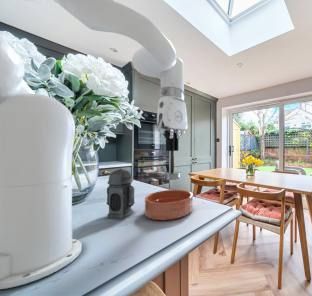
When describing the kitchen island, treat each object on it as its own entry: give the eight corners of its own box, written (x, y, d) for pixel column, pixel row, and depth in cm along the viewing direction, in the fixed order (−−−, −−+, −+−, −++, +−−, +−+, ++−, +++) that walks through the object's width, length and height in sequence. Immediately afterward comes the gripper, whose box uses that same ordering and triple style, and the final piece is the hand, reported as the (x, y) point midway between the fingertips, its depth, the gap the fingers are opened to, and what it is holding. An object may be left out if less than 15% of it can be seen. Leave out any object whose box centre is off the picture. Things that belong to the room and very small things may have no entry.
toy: (139, 211, 57) (139, 167, 57) (127, 219, 51) (127, 170, 51) (115, 210, 58) (115, 167, 57) (101, 217, 52) (101, 169, 52)
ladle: (172, 180, 54) (172, 133, 53) (160, 178, 56) (160, 133, 56) (183, 177, 58) (183, 134, 58) (171, 176, 61) (172, 134, 60)
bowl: (170, 226, 47) (170, 206, 47) (134, 215, 54) (134, 198, 54) (200, 208, 61) (201, 193, 61) (169, 201, 67) (169, 188, 67)
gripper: (162, 87, 48) (162, 151, 48) (195, 100, 62) (194, 150, 62) (144, 91, 51) (144, 151, 52) (179, 102, 65) (179, 150, 66)
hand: (172, 150), depth 57 cm, fingers closed on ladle, 1 cm apart
